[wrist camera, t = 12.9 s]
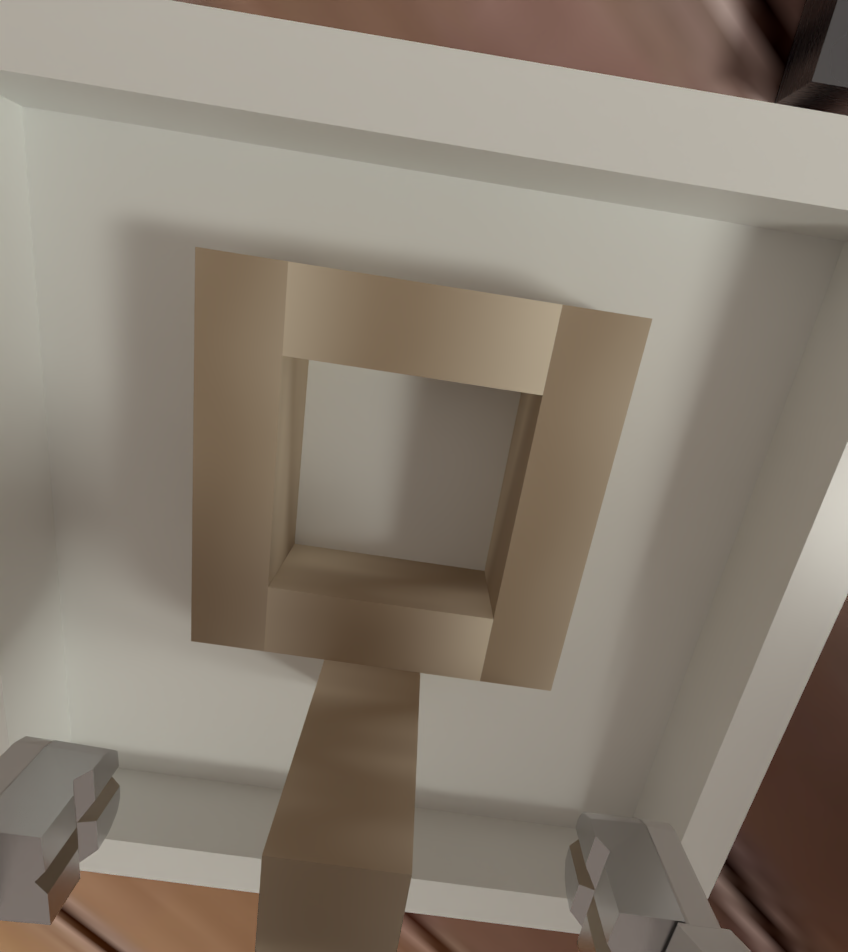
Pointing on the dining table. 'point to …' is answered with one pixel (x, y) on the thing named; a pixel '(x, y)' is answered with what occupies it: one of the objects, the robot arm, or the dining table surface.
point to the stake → (818, 60)
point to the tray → (414, 424)
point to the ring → (377, 577)
